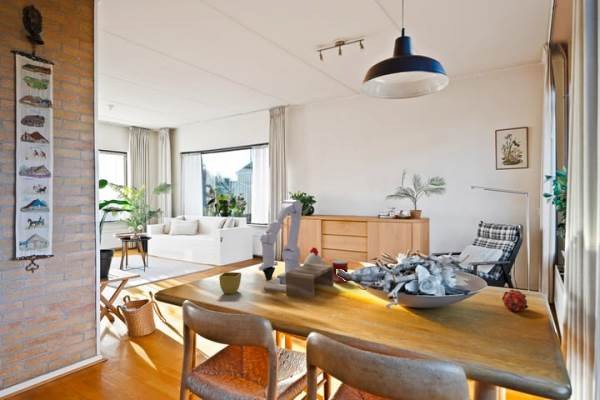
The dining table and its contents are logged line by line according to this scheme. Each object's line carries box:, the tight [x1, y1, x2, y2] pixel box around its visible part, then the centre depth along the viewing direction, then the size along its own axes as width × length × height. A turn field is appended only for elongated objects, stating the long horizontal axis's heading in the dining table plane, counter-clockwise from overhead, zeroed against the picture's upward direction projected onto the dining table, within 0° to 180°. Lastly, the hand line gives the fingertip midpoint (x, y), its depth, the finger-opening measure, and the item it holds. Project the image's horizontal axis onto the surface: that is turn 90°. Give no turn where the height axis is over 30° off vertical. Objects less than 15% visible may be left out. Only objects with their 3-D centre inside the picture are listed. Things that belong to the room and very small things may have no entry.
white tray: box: [263, 272, 286, 293], centre depth 175 cm, size 16×13×6 cm
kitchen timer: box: [302, 247, 326, 266], centre depth 204 cm, size 14×14×15 cm
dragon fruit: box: [501, 289, 529, 312], centre depth 137 cm, size 8×8×12 cm
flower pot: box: [218, 271, 242, 295], centre depth 165 cm, size 9×9×9 cm
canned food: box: [332, 259, 349, 284], centre depth 183 cm, size 8×8×11 cm
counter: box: [285, 263, 335, 300], centre depth 168 cm, size 24×14×10 cm, turn 151°
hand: (268, 281), depth 180 cm, fingers closed
